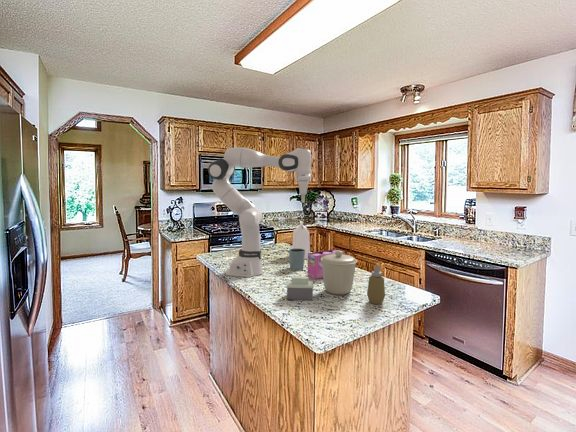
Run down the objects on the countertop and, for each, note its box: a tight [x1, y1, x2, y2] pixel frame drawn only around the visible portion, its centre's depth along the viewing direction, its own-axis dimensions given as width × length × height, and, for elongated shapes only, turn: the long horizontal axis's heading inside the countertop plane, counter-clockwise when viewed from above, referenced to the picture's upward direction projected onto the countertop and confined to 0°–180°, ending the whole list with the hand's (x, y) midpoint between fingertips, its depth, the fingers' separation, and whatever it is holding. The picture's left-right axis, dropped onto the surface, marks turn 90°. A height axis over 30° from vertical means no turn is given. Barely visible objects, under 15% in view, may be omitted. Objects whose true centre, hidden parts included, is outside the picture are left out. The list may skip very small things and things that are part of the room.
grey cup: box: [288, 248, 305, 271], centre depth 212 cm, size 10×10×12 cm
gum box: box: [307, 248, 346, 280], centre depth 199 cm, size 24×8×14 cm, turn 124°
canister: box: [321, 249, 358, 296], centre depth 168 cm, size 18×18×21 cm
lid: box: [286, 276, 314, 289], centre depth 160 cm, size 13×8×5 cm, turn 87°
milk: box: [291, 220, 311, 260], centre depth 240 cm, size 12×12×26 cm
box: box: [286, 288, 314, 301], centre depth 160 cm, size 12×7×6 cm, turn 87°
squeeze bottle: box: [366, 263, 386, 305], centre depth 154 cm, size 8×8×18 cm
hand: (303, 202), depth 188 cm, fingers open, 8 cm apart
